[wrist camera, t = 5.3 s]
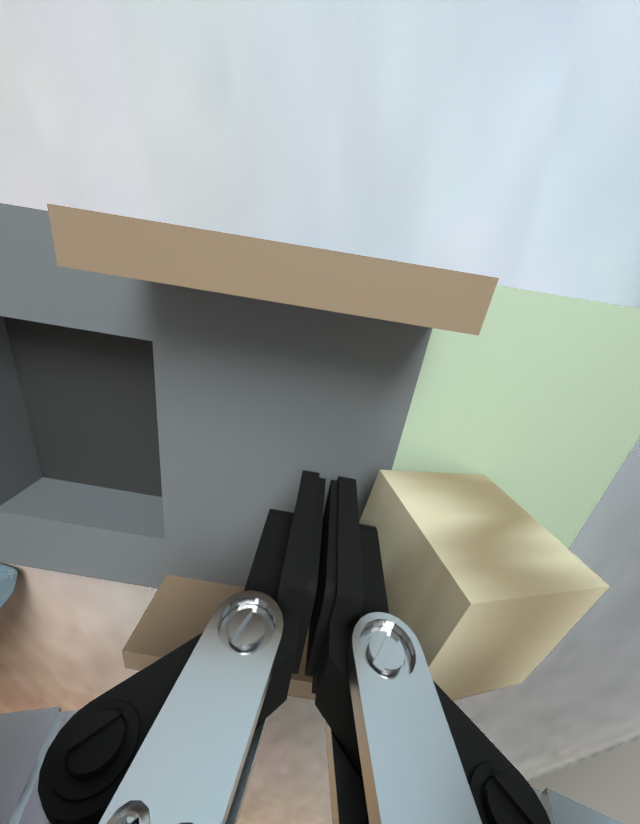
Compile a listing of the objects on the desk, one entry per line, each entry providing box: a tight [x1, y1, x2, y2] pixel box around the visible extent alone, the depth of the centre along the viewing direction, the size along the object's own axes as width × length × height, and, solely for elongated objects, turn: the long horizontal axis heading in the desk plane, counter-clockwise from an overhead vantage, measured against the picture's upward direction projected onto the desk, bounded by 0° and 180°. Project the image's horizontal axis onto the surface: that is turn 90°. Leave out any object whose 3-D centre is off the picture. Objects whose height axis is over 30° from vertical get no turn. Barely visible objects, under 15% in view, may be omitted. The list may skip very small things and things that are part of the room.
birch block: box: [359, 470, 610, 701], centre depth 9 cm, size 4×4×4 cm
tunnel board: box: [0, 203, 640, 700], centre depth 11 cm, size 23×14×6 cm, turn 81°
